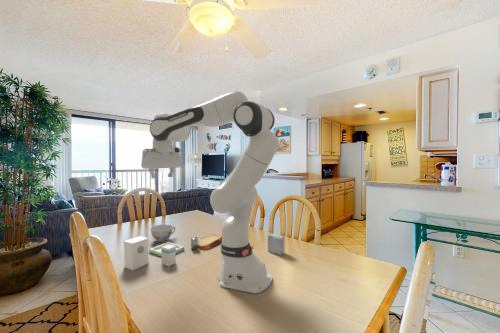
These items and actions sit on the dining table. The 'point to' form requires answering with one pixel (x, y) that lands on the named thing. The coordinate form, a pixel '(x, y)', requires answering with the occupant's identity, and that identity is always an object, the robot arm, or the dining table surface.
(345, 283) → the dining table surface
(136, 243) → the cream tall block
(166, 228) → the teacup
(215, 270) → the dining table surface
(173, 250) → the teal band cartridge
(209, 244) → the bread slice
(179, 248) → the tray
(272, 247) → the medicine box
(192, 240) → the cylinder
